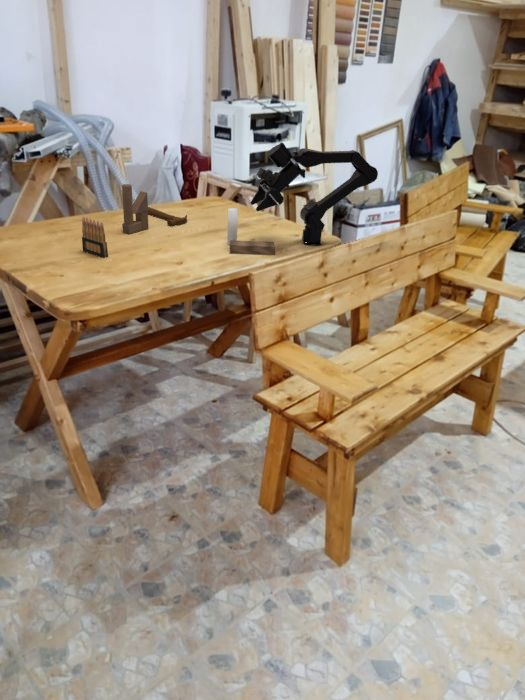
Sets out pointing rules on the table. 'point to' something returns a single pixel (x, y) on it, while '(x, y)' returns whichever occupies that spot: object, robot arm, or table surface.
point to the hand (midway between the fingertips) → (253, 207)
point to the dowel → (232, 224)
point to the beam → (252, 247)
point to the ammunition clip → (94, 238)
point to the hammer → (168, 217)
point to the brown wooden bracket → (134, 210)
